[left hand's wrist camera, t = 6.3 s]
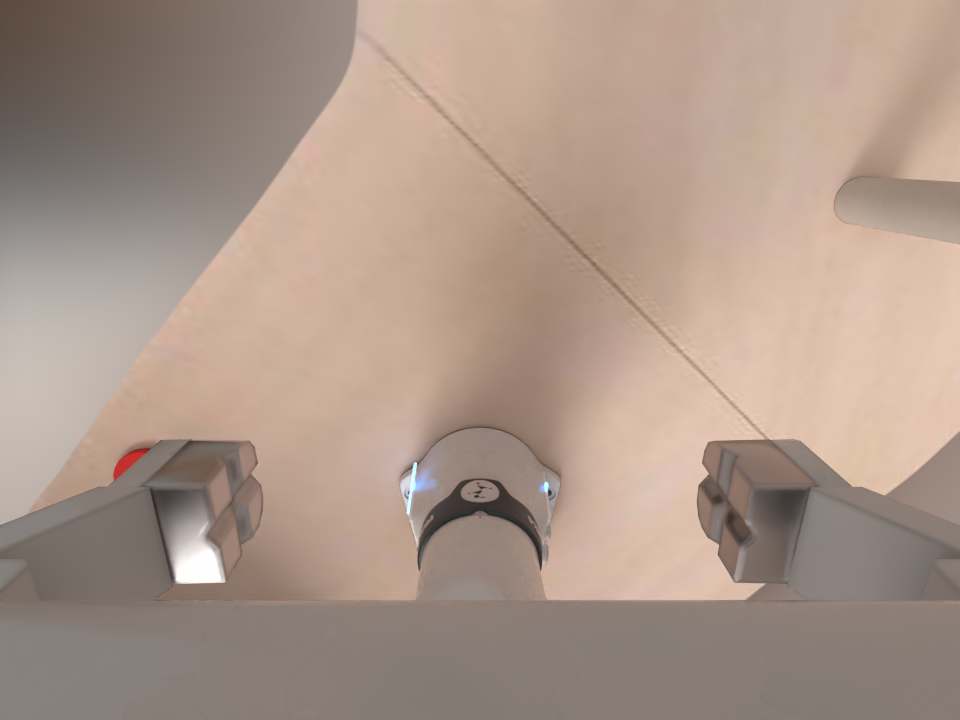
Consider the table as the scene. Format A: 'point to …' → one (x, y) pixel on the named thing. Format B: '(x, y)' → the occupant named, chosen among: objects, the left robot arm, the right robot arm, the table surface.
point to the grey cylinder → (902, 206)
